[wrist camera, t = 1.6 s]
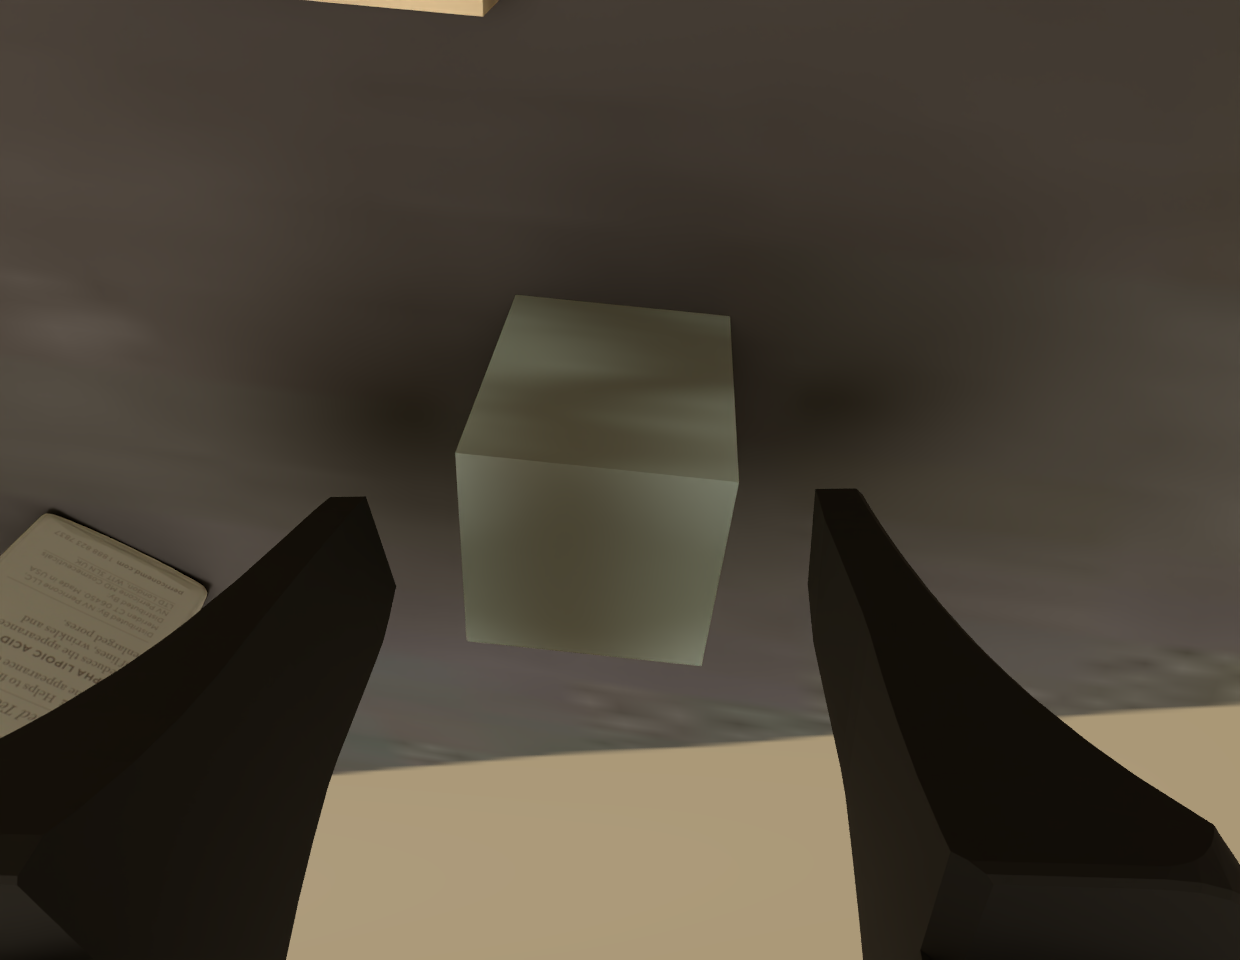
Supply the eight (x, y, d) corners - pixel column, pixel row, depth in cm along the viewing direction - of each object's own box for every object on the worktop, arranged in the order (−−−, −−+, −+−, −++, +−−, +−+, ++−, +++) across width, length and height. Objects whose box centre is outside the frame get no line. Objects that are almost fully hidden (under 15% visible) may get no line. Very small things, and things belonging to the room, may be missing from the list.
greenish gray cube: (729, 315, 16) (739, 482, 12) (701, 482, 18) (701, 666, 14) (515, 293, 16) (454, 452, 12) (516, 463, 18) (466, 641, 14)
